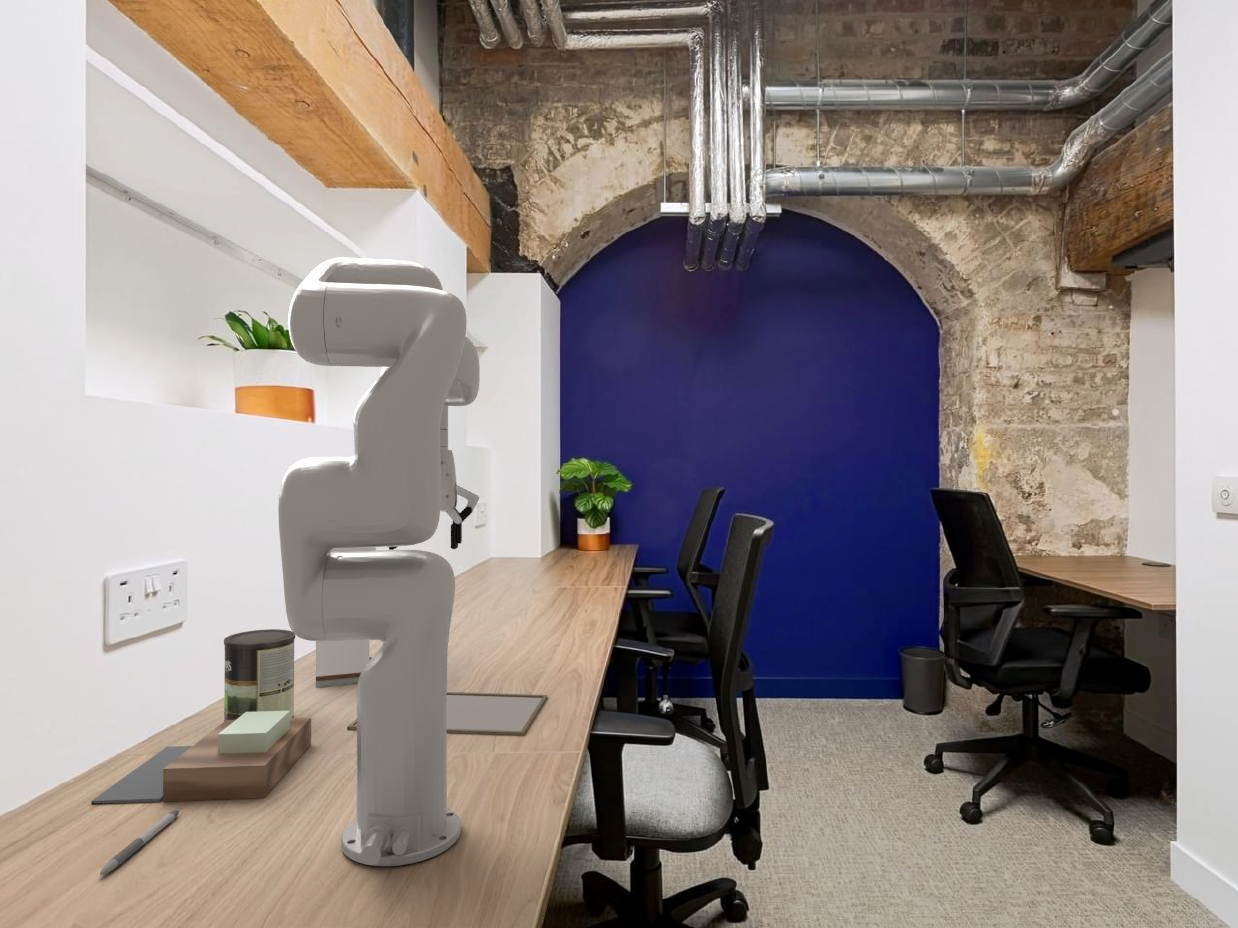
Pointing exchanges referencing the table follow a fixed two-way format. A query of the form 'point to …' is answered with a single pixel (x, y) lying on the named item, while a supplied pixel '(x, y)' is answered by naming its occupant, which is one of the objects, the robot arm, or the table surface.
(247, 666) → the coffee can
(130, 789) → the mat
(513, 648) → the table surface
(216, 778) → the brown wooden flat block
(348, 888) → the table surface
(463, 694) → the picture frame
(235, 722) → the block
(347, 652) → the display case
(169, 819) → the pen
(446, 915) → the table surface
